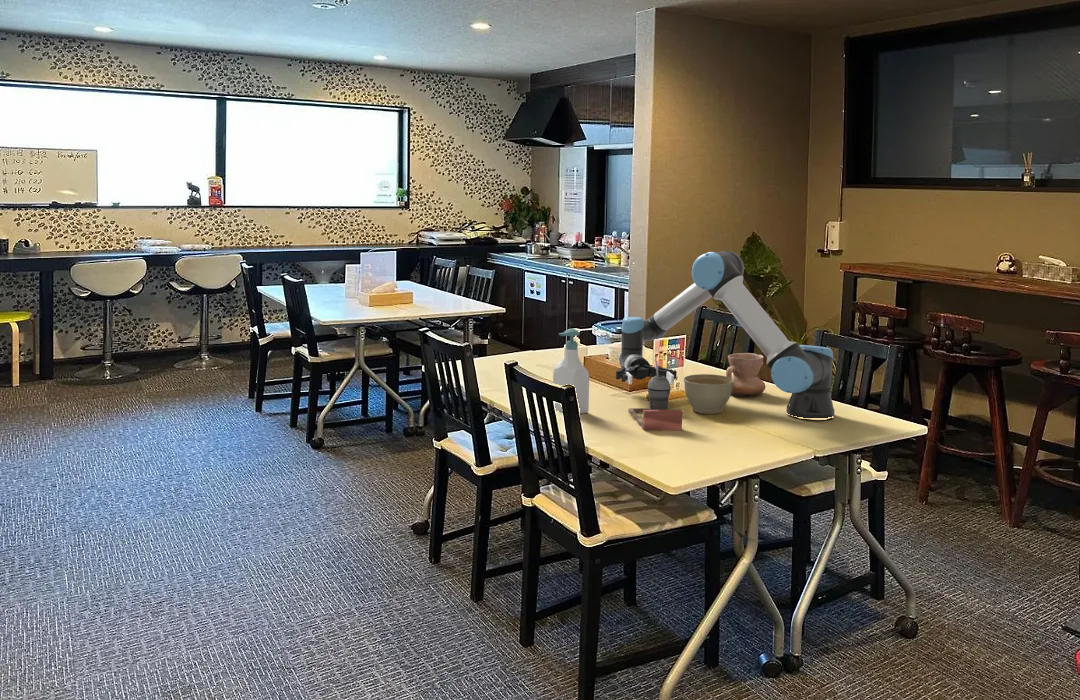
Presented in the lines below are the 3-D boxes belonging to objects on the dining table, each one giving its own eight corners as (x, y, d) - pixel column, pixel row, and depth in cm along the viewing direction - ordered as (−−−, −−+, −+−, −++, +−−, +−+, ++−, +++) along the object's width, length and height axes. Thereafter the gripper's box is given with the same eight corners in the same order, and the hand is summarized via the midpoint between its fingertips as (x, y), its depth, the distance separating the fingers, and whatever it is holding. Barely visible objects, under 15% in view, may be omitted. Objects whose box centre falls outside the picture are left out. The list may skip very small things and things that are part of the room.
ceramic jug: (745, 387, 338) (746, 350, 336) (776, 394, 327) (777, 355, 324) (710, 394, 328) (711, 355, 326) (740, 402, 317) (742, 361, 314)
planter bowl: (679, 404, 311) (681, 373, 309) (727, 405, 310) (729, 374, 308) (685, 416, 295) (686, 383, 293) (735, 417, 294) (737, 384, 293)
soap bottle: (548, 409, 302) (549, 327, 297) (568, 406, 306) (569, 325, 302) (568, 416, 293) (569, 332, 288) (588, 413, 298) (590, 330, 293)
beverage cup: (663, 428, 280) (666, 364, 276) (642, 425, 283) (644, 362, 280) (673, 423, 286) (675, 361, 282) (652, 420, 290) (654, 358, 286)
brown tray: (628, 411, 300) (628, 394, 299) (663, 411, 301) (664, 393, 300) (643, 430, 277) (644, 411, 276) (681, 430, 278) (682, 410, 277)
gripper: (672, 377, 315) (689, 391, 294) (601, 378, 312) (613, 391, 291) (673, 356, 313) (690, 368, 293) (601, 356, 311) (613, 368, 290)
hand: (651, 380), depth 292 cm, fingers open, 13 cm apart
